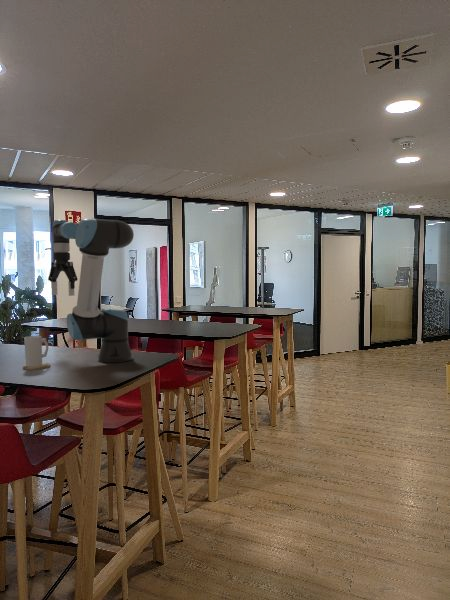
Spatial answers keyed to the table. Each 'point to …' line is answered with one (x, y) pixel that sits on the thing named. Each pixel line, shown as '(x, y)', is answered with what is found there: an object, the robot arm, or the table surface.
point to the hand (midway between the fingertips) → (63, 295)
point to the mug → (34, 350)
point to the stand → (37, 367)
